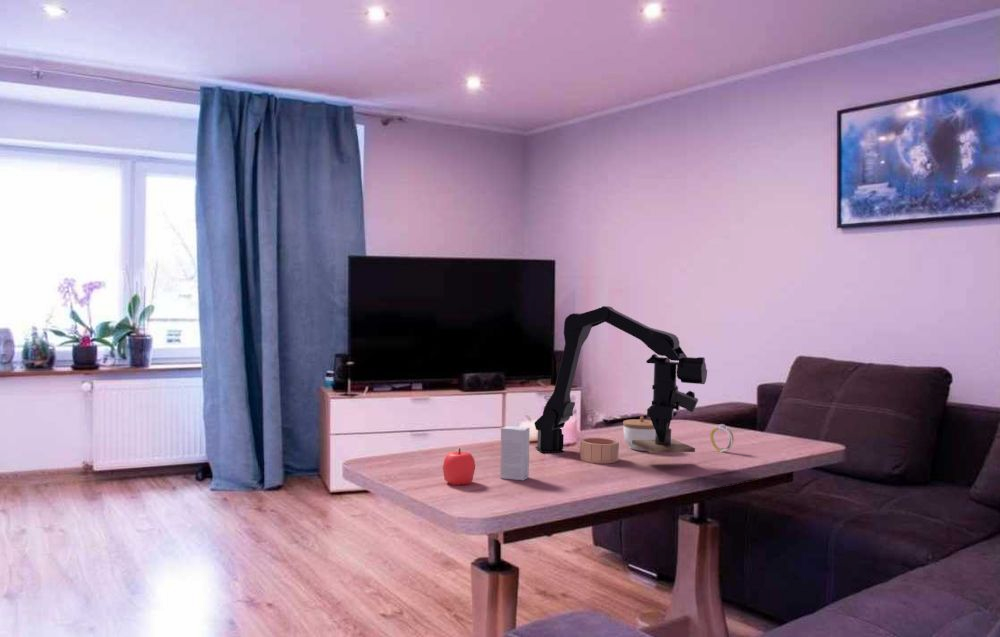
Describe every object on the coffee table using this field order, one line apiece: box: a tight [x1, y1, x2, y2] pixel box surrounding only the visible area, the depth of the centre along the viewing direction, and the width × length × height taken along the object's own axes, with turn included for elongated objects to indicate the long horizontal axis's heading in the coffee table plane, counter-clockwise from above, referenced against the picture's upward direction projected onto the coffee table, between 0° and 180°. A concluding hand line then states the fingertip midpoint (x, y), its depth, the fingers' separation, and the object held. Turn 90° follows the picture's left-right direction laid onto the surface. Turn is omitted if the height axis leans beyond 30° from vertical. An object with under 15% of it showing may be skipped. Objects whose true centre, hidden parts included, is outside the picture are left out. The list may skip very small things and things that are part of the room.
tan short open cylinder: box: [579, 437, 620, 465], centre depth 199 cm, size 10×10×5 cm
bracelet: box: [710, 423, 735, 453], centre depth 214 cm, size 7×3×8 cm, turn 35°
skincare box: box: [499, 425, 530, 481], centre depth 176 cm, size 6×4×12 cm
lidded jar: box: [622, 416, 656, 452], centre depth 216 cm, size 11×11×9 cm
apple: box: [442, 447, 476, 486], centre depth 170 cm, size 8×8×8 cm
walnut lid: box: [632, 427, 696, 454], centre depth 193 cm, size 12×12×5 cm
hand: (662, 440), depth 194 cm, fingers closed on walnut lid, 4 cm apart
